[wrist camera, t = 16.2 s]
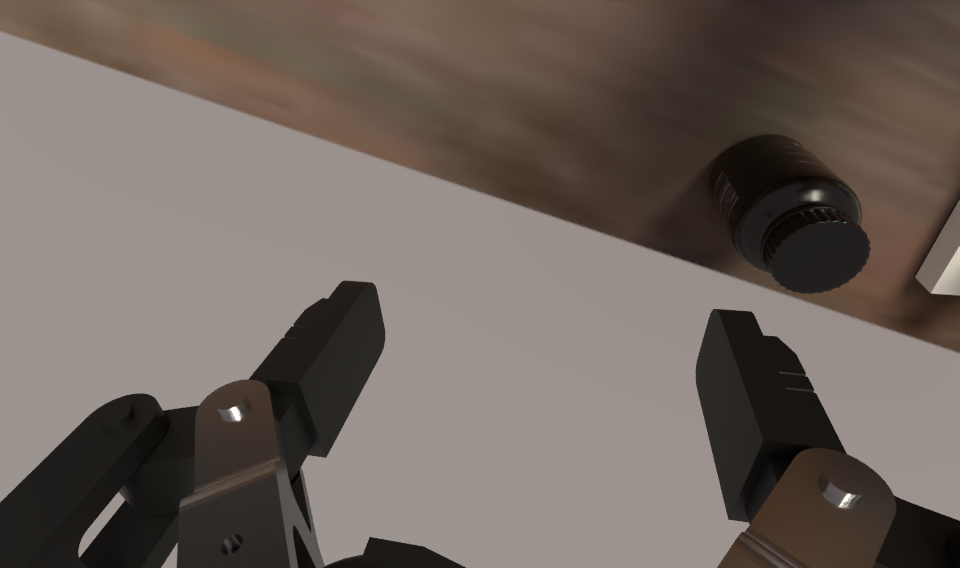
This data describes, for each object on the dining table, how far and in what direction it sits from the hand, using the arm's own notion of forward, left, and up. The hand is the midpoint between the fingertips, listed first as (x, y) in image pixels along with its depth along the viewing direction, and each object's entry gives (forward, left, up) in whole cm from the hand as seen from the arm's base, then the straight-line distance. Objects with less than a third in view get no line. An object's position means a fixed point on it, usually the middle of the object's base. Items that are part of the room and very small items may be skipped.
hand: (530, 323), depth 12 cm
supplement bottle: (-4, +15, -28) cm, 32 cm away
